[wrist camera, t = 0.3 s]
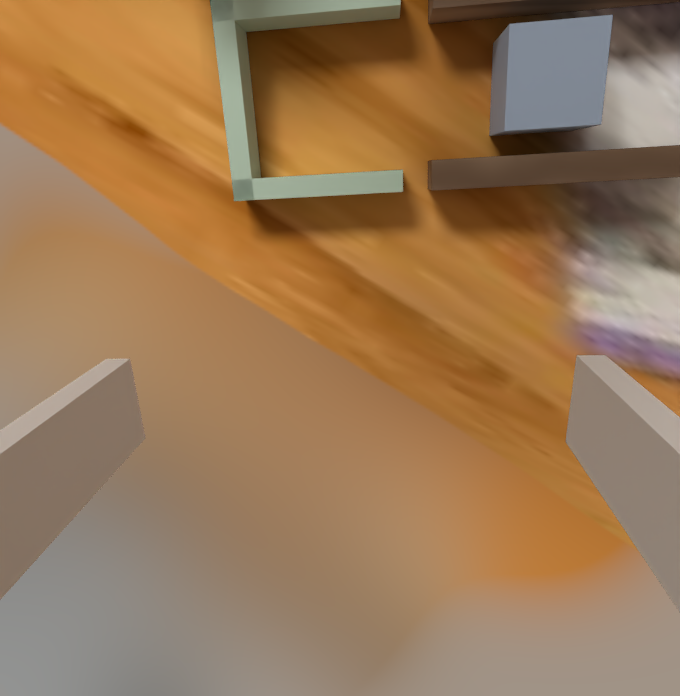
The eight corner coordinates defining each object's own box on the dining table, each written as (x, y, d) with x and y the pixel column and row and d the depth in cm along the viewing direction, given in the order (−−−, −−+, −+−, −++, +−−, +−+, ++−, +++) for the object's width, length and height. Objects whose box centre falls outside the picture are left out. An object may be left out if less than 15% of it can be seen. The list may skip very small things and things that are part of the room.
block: (492, 43, 35) (509, 23, 30) (581, 36, 34) (612, 14, 29) (489, 136, 37) (504, 130, 32) (572, 130, 36) (601, 124, 31)
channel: (428, -10, 34) (433, -30, 31) (708, -37, 32) (745, -60, 29) (427, 188, 38) (431, 190, 35) (674, 175, 36) (703, 175, 33)
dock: (223, 9, 35) (209, -5, 33) (399, -7, 34) (400, -24, 31) (245, 198, 40) (234, 201, 37) (401, 190, 38) (403, 191, 36)
